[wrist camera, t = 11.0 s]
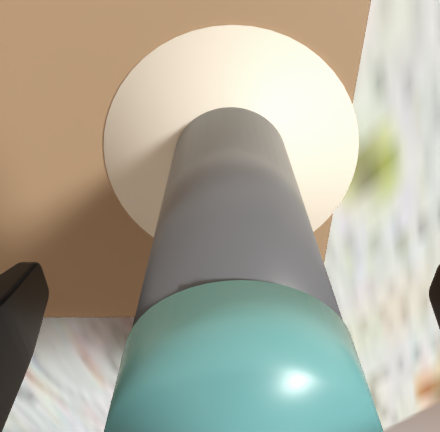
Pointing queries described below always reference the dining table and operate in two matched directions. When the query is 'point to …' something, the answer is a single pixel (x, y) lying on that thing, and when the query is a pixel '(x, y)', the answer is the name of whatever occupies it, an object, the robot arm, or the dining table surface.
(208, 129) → the marker
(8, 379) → the robot arm
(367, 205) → the dining table surface
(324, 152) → the kraft pad
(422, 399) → the dining table surface
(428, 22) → the dining table surface
